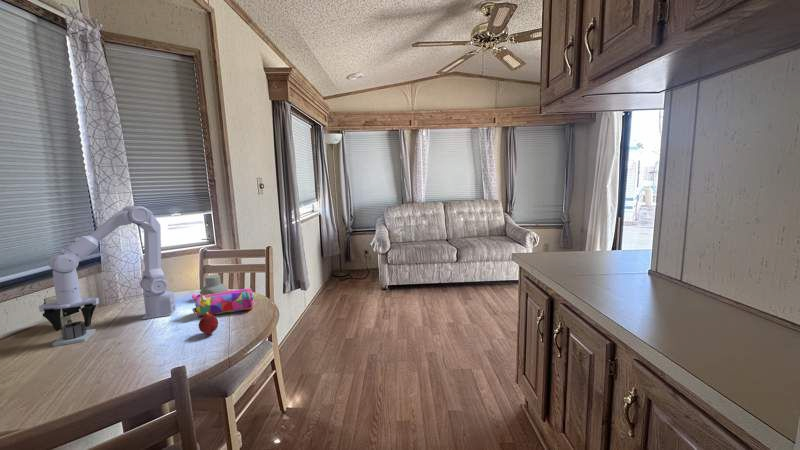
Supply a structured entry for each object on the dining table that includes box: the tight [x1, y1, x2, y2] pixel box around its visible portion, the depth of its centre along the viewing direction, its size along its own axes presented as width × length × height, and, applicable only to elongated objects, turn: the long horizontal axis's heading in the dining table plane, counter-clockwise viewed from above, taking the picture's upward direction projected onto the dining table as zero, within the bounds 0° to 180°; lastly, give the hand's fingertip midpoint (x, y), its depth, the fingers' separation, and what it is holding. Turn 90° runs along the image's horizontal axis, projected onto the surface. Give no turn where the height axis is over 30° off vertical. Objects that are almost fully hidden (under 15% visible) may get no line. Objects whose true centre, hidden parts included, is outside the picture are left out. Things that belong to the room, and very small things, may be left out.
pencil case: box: [191, 287, 255, 318], centre depth 131 cm, size 22×9×9 cm, turn 112°
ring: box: [60, 320, 87, 340], centre depth 110 cm, size 5×5×4 cm
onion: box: [198, 312, 219, 335], centre depth 111 cm, size 6×6×8 cm
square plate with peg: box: [52, 328, 97, 347], centre depth 110 cm, size 8×8×4 cm
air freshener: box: [199, 274, 228, 295], centre depth 148 cm, size 11×8×10 cm
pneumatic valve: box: [43, 295, 82, 326], centre depth 121 cm, size 6×12×12 cm, turn 77°
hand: (73, 327), depth 110 cm, fingers open, 7 cm apart
